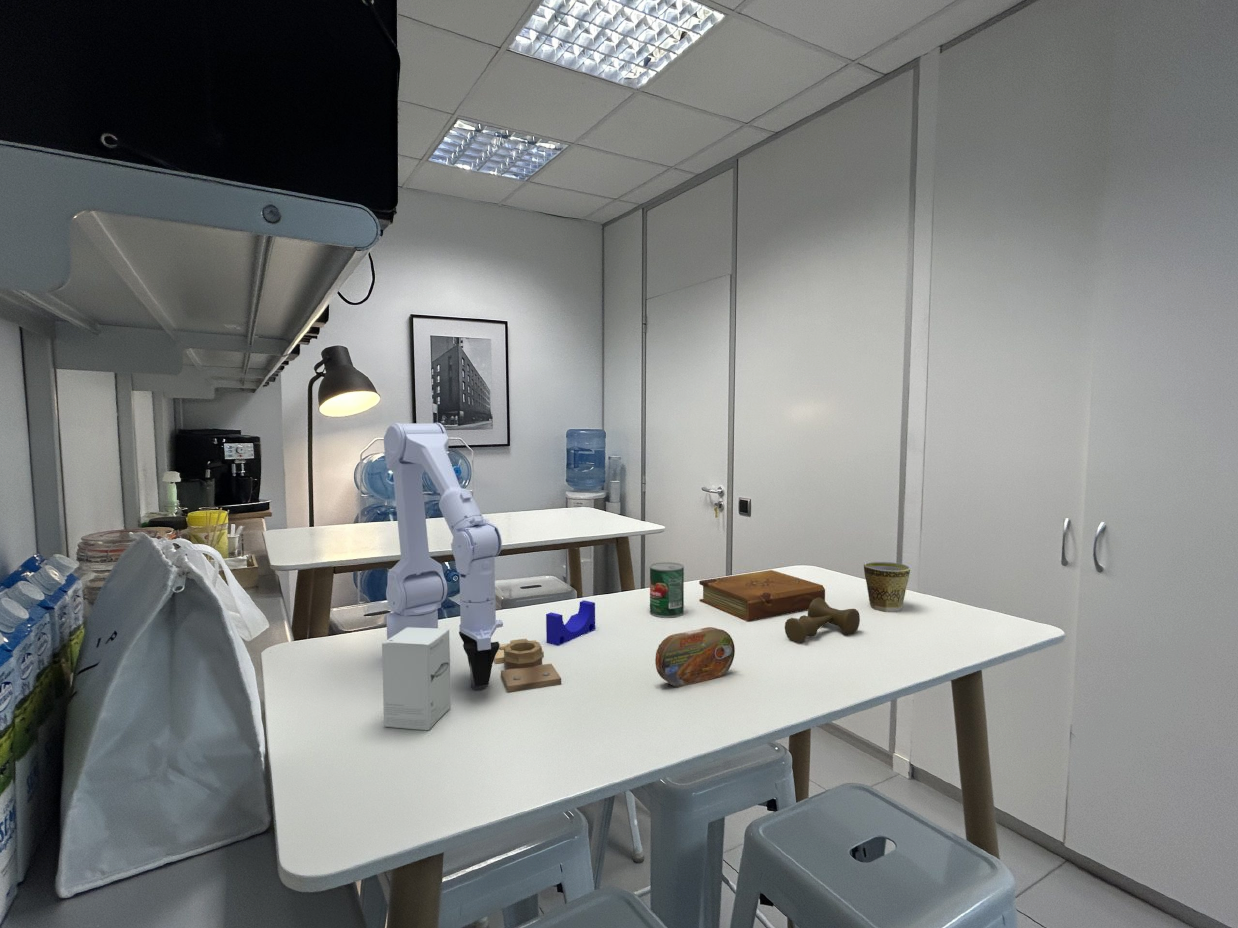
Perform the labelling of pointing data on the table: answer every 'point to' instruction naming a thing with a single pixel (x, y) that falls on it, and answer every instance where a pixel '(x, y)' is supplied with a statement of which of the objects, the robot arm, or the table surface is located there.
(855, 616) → the kendama
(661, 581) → the canned tomato
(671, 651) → the tin
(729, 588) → the diary
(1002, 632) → the table surface
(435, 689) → the supplement box
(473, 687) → the grey cylinder
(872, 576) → the ceramic cup
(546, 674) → the hinge plate
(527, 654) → the hinge leaf
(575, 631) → the blue u-shaped block
